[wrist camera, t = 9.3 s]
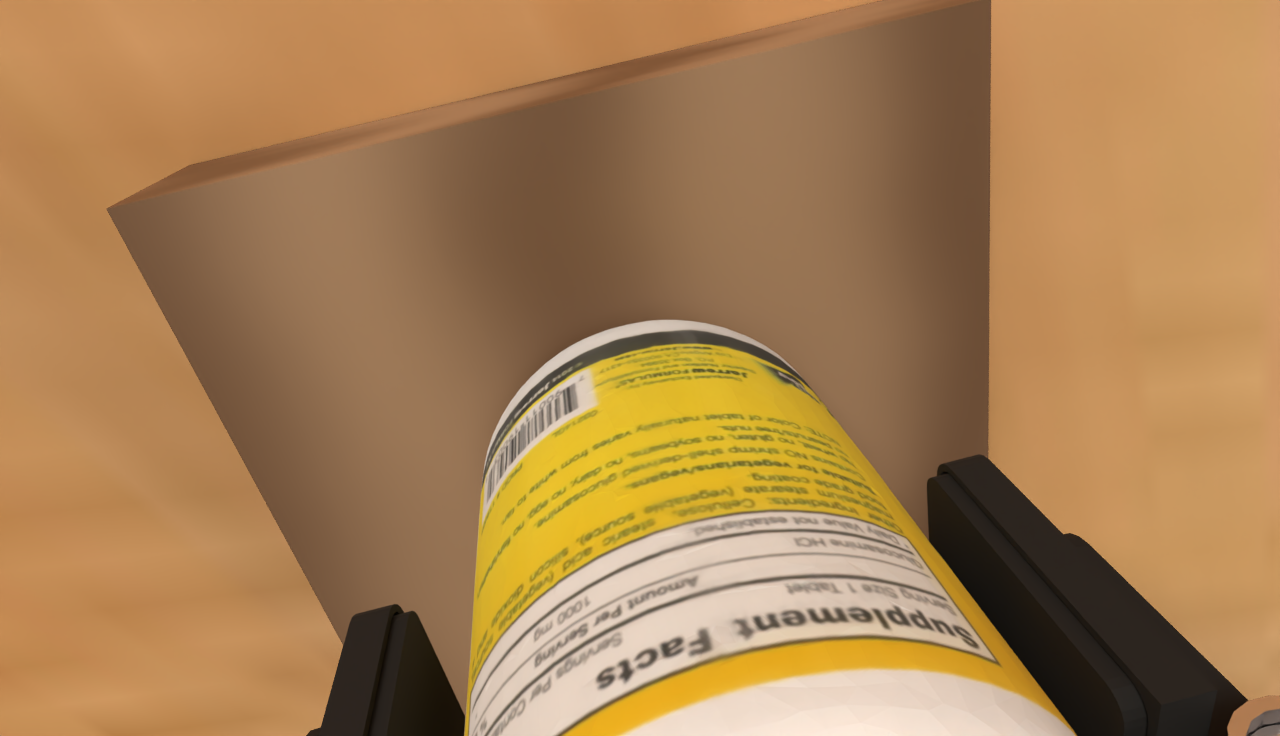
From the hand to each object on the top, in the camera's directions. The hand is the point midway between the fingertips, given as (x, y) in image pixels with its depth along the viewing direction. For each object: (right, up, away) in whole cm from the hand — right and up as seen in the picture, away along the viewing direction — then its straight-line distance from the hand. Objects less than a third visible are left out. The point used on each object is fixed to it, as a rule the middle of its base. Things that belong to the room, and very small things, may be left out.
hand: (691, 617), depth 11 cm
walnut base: (-1, +3, +6) cm, 7 cm away
